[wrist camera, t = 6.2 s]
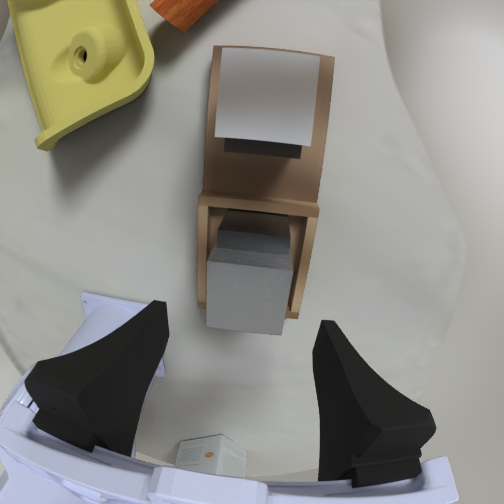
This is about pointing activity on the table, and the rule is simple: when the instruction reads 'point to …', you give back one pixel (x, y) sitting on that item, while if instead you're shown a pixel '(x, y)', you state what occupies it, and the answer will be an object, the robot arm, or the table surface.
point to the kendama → (182, 11)
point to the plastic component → (80, 59)
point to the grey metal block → (250, 272)
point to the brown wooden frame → (265, 148)
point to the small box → (212, 456)
